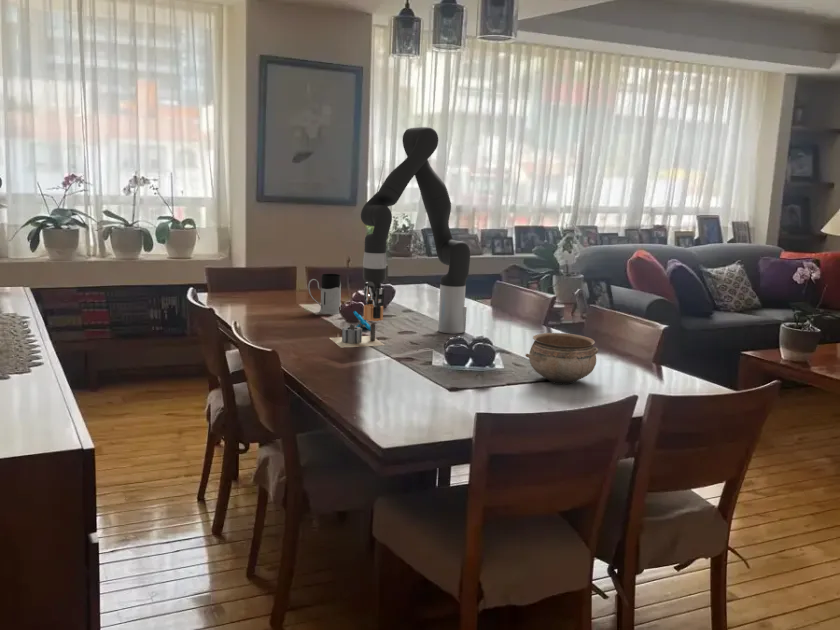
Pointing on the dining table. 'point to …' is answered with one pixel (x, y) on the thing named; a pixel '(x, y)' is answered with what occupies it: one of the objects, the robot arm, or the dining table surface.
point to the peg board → (365, 339)
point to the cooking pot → (562, 356)
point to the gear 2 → (371, 313)
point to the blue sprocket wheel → (361, 321)
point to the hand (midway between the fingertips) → (373, 316)
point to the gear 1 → (352, 335)
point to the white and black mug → (329, 293)
